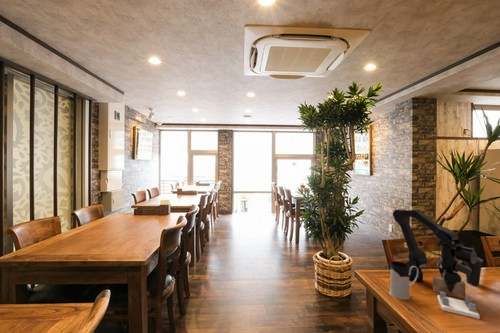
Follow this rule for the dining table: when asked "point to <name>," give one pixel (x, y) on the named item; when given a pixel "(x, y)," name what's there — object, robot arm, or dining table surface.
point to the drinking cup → (474, 272)
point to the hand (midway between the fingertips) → (448, 287)
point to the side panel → (458, 305)
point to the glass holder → (400, 280)
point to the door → (441, 286)
